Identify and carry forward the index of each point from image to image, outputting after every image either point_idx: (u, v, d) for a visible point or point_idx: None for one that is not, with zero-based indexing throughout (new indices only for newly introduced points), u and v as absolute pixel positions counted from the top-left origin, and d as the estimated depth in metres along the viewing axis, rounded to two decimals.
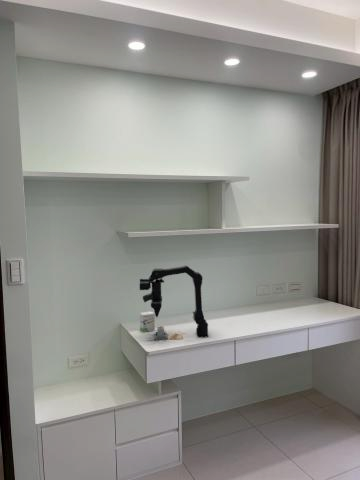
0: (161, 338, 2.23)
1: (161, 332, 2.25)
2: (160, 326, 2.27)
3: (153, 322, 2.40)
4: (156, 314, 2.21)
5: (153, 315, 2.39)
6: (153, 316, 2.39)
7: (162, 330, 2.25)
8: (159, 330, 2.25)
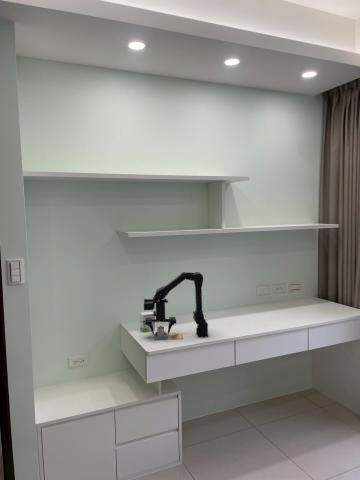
0: (161, 338, 2.23)
1: (161, 332, 2.25)
2: (160, 326, 2.27)
3: None
4: (152, 332, 2.27)
5: None
6: (153, 316, 2.39)
7: (162, 330, 2.25)
8: (159, 330, 2.25)
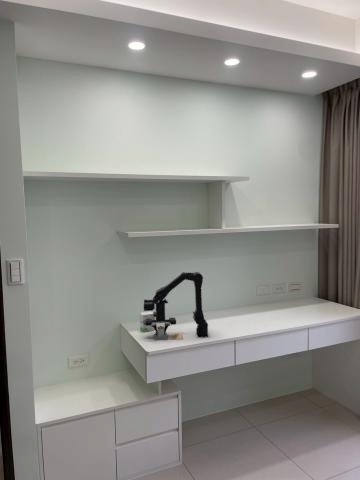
0: (161, 338, 2.23)
1: (161, 332, 2.25)
2: (160, 326, 2.27)
3: None
4: (156, 332, 2.27)
5: None
6: None
7: (162, 330, 2.25)
8: (159, 330, 2.25)
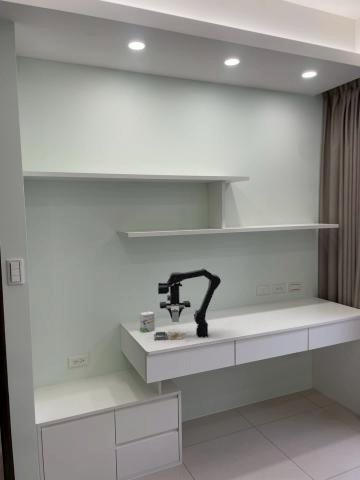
0: (161, 338, 2.23)
1: (176, 315, 2.25)
2: (174, 309, 2.27)
3: (153, 322, 2.40)
4: (170, 315, 2.27)
5: (153, 315, 2.39)
6: (153, 316, 2.39)
7: (177, 313, 2.25)
8: (174, 313, 2.25)
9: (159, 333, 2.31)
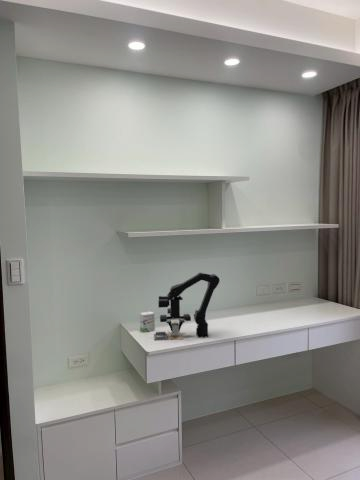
0: (161, 338, 2.23)
1: (176, 329, 2.26)
2: None
3: (153, 322, 2.40)
4: None
5: (153, 315, 2.39)
6: (153, 316, 2.39)
7: (177, 326, 2.26)
8: (174, 326, 2.25)
9: (159, 333, 2.31)
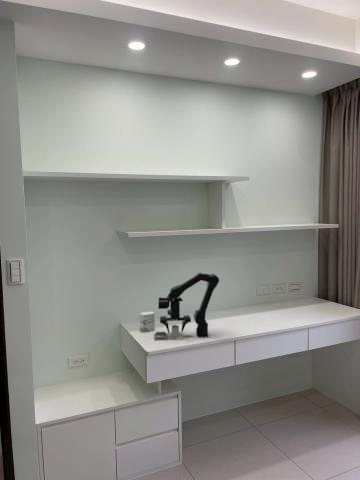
0: (161, 338, 2.23)
1: (176, 331, 2.26)
2: (175, 325, 2.28)
3: (153, 322, 2.40)
4: None
5: (153, 315, 2.39)
6: (153, 316, 2.39)
7: (177, 329, 2.26)
8: (174, 329, 2.26)
9: (159, 333, 2.31)
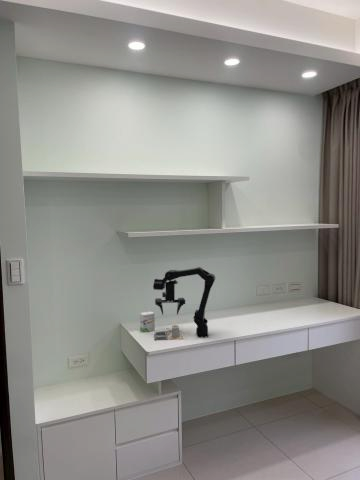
0: (161, 338, 2.23)
1: (176, 331, 2.26)
2: (175, 325, 2.28)
3: (153, 322, 2.40)
4: None
5: (153, 315, 2.39)
6: (153, 316, 2.39)
7: (177, 329, 2.26)
8: (174, 329, 2.26)
9: (159, 333, 2.31)
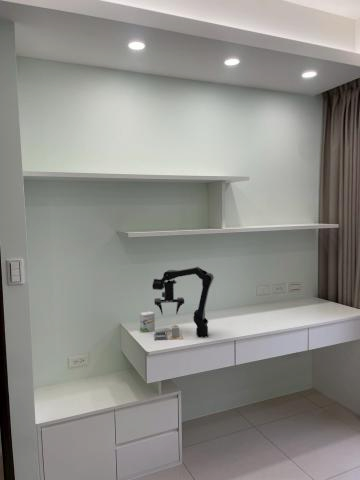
0: (161, 338, 2.23)
1: (176, 331, 2.26)
2: (175, 325, 2.28)
3: (153, 322, 2.40)
4: (161, 312, 2.35)
5: (153, 315, 2.39)
6: (153, 316, 2.39)
7: (177, 329, 2.26)
8: (174, 329, 2.26)
9: (159, 333, 2.31)
